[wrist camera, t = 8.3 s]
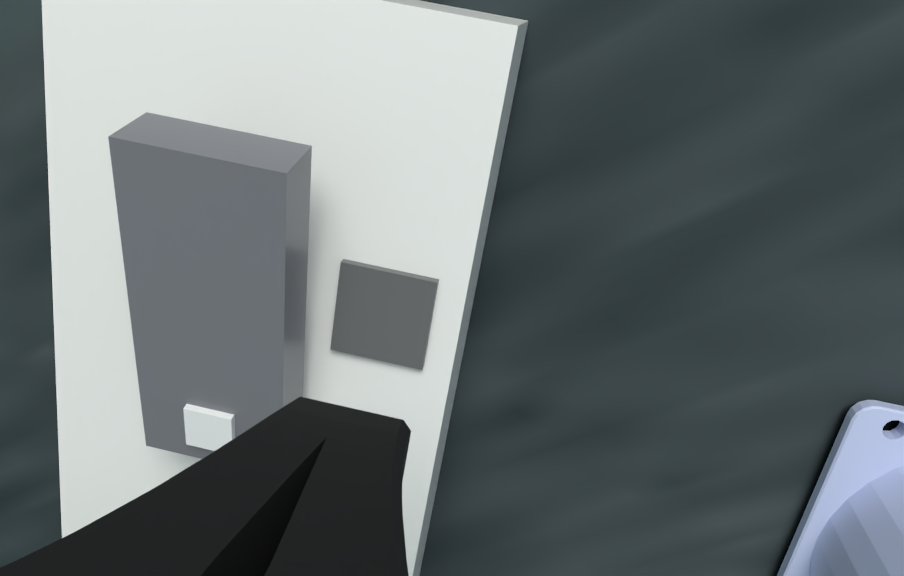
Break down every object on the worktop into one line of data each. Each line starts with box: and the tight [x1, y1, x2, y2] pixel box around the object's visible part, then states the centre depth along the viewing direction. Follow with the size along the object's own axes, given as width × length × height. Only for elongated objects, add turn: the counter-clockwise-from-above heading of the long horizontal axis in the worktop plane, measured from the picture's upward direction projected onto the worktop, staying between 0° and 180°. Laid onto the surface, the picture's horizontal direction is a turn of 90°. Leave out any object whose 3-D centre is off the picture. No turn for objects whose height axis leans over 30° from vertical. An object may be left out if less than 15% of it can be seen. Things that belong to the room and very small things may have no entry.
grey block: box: [108, 112, 312, 459], centre depth 14 cm, size 3×7×1 cm, turn 171°
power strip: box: [42, 0, 528, 576], centre depth 19 cm, size 9×36×4 cm, turn 170°
